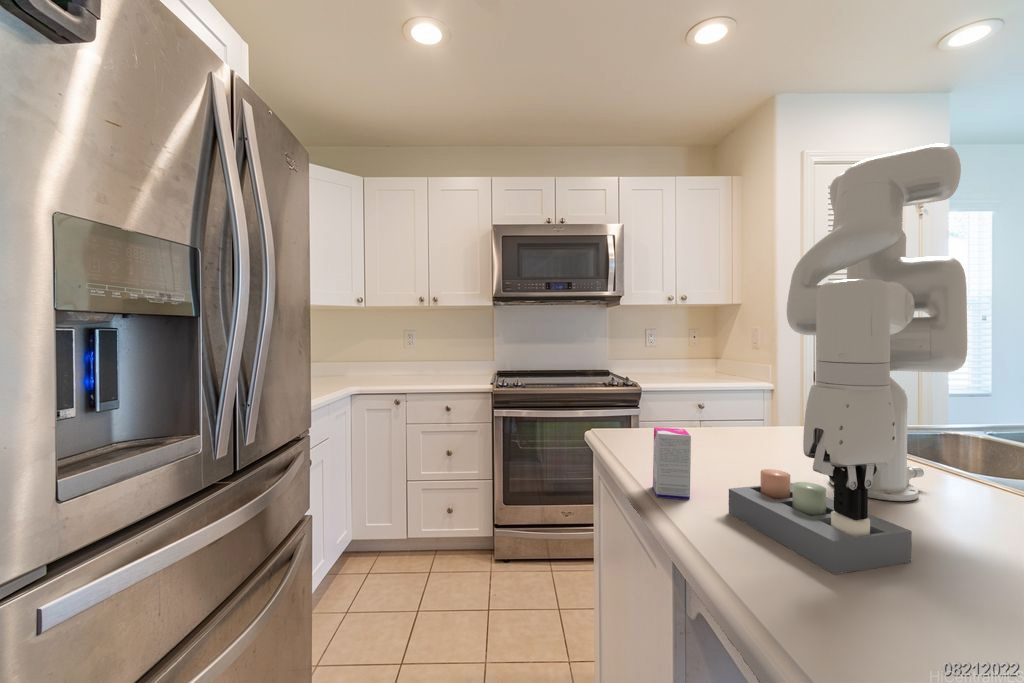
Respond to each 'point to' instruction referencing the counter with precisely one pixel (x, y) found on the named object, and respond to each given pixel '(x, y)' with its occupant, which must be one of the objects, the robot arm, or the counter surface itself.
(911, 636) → the counter surface
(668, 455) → the supplement box
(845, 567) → the tray
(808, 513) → the sage button
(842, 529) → the cream button
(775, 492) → the terracotta button
